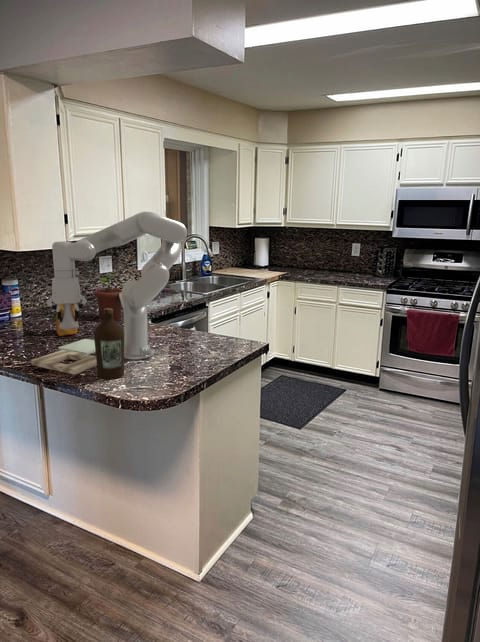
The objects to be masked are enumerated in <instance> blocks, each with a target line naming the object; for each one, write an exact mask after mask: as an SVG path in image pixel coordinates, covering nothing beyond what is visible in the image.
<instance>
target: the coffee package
mask: <svg viewBox="0 0 480 642" xmlns="http://www.w3.org/2000/svg"><path fill="white" fill-rule="evenodd" d="M71 308H72V312H73V314H74V317H75V306H74V304H71ZM60 310H61V316H63V312H64V305H63V304H61V307H60ZM55 319H56V323H55V324H56V333H57V335H58V337H59V336H61V337H63V336H69V335H70V336H71V335H76V334H77V333H78V329H79V327H78V328H75V329H68V330H66V329H60V328H59V325H60V320H58V316H57V315H56V318H55ZM78 320H79V318H77V323H78V324H79V321H78Z"/></svg>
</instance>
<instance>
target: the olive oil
mask: <svg viewBox="0 0 480 642" xmlns="http://www.w3.org/2000/svg"><path fill="white" fill-rule="evenodd" d="M93 338H94V339H93V340H94V341H95V350H96V352H95V356H96V360H97V366H96V369H97V371H96V372H97V377H98V378H99V379H101V380H116V379H117V380H118V379H120V378H122V377H123V376H124V375H125V358H124V351H125V344H124V327H122V326H121V325H120V324H119V323H118V321H115V320H114V319H113V309H112V308H106V309H104V320H103V321H102V322H99V324H98V325H97V327H96V328H95V330H94V334H93Z"/></svg>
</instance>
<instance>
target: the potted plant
mask: <svg viewBox="0 0 480 642" xmlns="http://www.w3.org/2000/svg"><path fill="white" fill-rule="evenodd" d="M116 276H117V274H116V273H115V274H112V273H111V274H110V276H109V278H108V279H106V278H105V277H102V278H100V279H99V280H100V281H101V282H106V281H107V285H108V288H107V287H106V288H100V289H99V288H98V289H96V290H94V296H95V298H97V307H98V315H99V318H98V319H97V320H96V322H97V323H101V322H102V321H103V320H104V309H106V308H112V309H113V319H114V320H115V321H116V322H118V321H120V320H121V319H122V308H123V302H122V289H123V288H122V289H121V288H111V287H110V279H113V278H114V277H116Z"/></svg>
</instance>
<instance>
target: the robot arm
mask: <svg viewBox="0 0 480 642" xmlns="http://www.w3.org/2000/svg"><path fill="white" fill-rule="evenodd" d="M145 235H149V236H152V237H155V238H158V239H161V245H160V247H158V249H157V251H156V252H155V253H154V254H153V256H152V257H151V258H150V259H148V261H147V262H146V263H145V264H144V265H143V266H142V268H141V270H140V275H141V277H139V279H137V280H135V279H134V280H129V281H127V282H126V283H125V284H124V285H123V287H122V302H123V307H122V309H123V310H122V311H123V331H124V360H125V359H126V360H143V359H147V358H150V357H151V356H154V354H155V351H156V350H155V348H154V349H153V348H151V344H149V343H148V342H149V341H148V338H149V337H148V309H147V306H148V305H150V303H151V302H153V300H154V299H155V298H156V297H157V296H158V295H159V293H161V292H162V291H163V290H164V288H165V287H166V285H167V284H168V282H169V280H170V271H169V270H170V269H171V268H172V267H173V265H174V264H175V263H176V262H177V261H178V259H179V257H180V255H181V251H182V243H183V242H184V241H185V240H186V239H187V236H188V228H187V226H185V225H184V223H182V222H180V221H177V220H174V219H171V218H168V217H166V216H162V215H161V214H158V213H156V212H155V213H154V212H152V211H142V212H141V211H140V212H138V213H136V214H133V215H132V216H130V217H128V218H126V219H123V220H121V221H118V222H116V223H113V224H111V225H109V226H107V227H105V228H104V229H100V230H99V231H97V232H96V231H95V232H93V233H92V234H89V235H87V236H85V237H82V238H80V239H78V240H76V242H71V241H65V240H64V241H61V240H60V241H54V242H53V243H52V244H51V245H52V246H51V247H52V248H51V250H52V263H53V271H54V272H53V273H54V277H53V278H52V282H51V290H52V292H51V294H52V295H51V296H50V298H49V299H48V300H47V302H46V305H47V306H49V307H50V308H52V309H53V310H54V311H56V316H58V320H60V322H62V316H61V310H60V307H61V304H74V306H75V320H76V321H77V318H78V319H80V314H79V313H80V310H81V309H82V308H83V306H85V305H86V304H87V303H88V299H86V298H85V297H84V295H82V293H81V286H80V281H79V277H78V276H77V275H80V270H77V269H76V263H75V261H80V262H88V261H92V260H93V259H94V258H95V257H96V255H97V254H98V253H99V252H102V251H104V250H107V249H110V248H117V247H121V246H124V245H126V244H128V243H130V242H132V241H135V240H137V239H138V238H141V237H143V236H145ZM52 302H53V303H52Z"/></svg>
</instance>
